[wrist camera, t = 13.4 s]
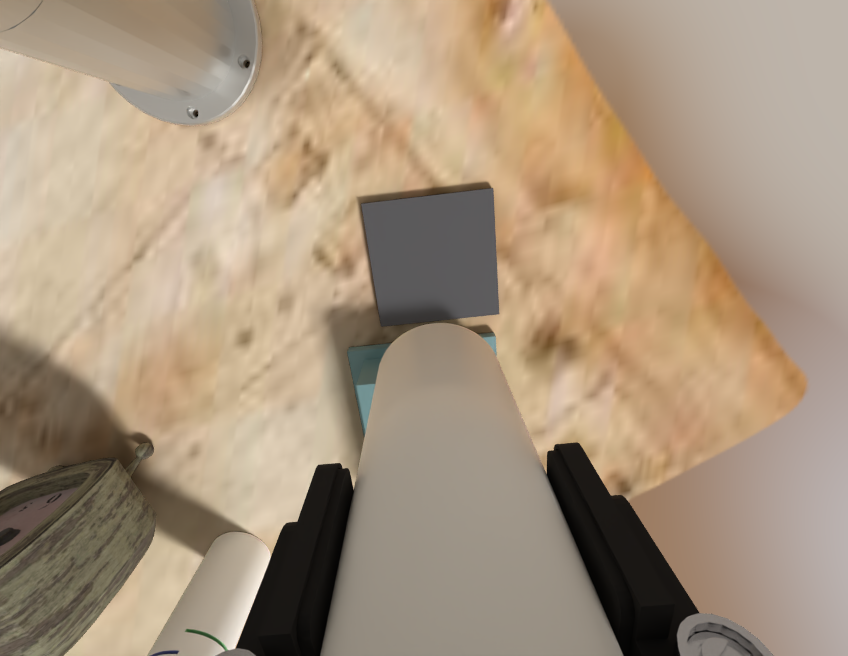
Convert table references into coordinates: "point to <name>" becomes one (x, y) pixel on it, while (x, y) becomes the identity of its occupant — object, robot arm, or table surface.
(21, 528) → the tabletop clock
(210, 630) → the cylindrical container
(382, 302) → the mat
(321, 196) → the table surface
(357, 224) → the table surface
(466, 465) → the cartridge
